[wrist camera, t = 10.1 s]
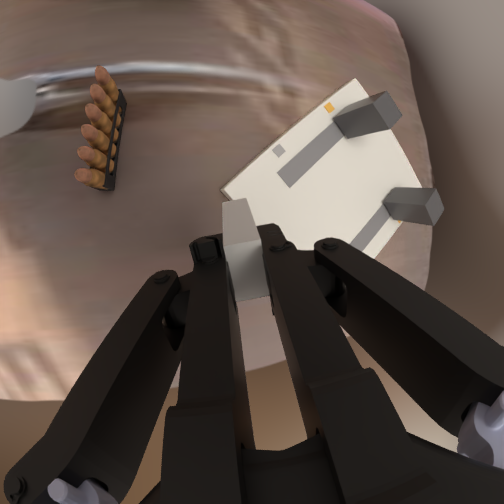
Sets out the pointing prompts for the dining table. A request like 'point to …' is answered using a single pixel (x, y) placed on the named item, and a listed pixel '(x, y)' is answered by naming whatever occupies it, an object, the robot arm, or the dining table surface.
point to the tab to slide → (368, 115)
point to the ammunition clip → (102, 133)
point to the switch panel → (326, 180)
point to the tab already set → (414, 205)
